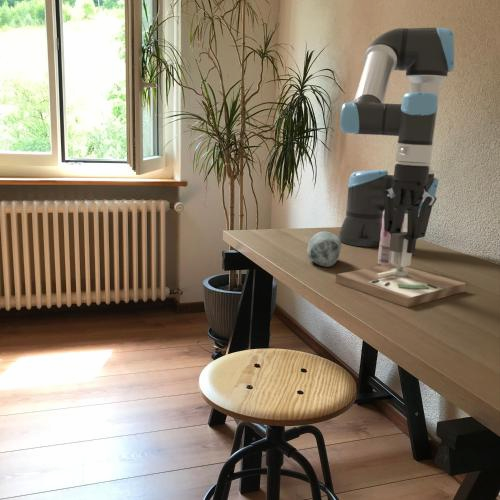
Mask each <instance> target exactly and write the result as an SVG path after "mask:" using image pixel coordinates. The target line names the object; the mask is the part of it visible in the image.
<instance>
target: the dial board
mask: <svg viewBox="0 0 500 500" xmlns="http://www.w3.org/2000/svg"><path fill="white" fill-rule="evenodd" d="M393 268H397V264H396V263H395V264H388V265H383V266H382V265H379V266H373V267H368V268H363V269H357V270H352V271H346V272H342V273H341V272H339V273H337V274H336V276H335V283H336V284H339V285H342V286H345V287H347V288H351V289H354V290H356V291H359V292H363V293H366V294H368V295H370V296H373V297H377V298H379V299H381V300H385V301H388V302H390V303H394V304H395V305H400V306H401V307H404V308H409V307H414V306H417V305H421V304H425V303H429V302H432V301H435V300H439V299H442V298H446V297H450V296H453V295H458V294H460V293H464V292H466V287H467V286H466V285H467V283H466V282H463V281H459V280H456V279H453V278H448V277H445V276H442V275H438V274H435V273H431V272H427V271H423V270H421V269H416V268H413V267H410V266H405V267H403V269H405V270H407V271H408V276H407V277H397V276H393V275H387V276H382V277H377V276H376V274H377V273H382V272H387V271H391V269H393Z"/></svg>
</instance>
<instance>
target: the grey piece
mask: <svg viewBox="0 0 500 500" xmlns="http://www.w3.org/2000/svg"><path fill="white" fill-rule="evenodd" d="M405 237H407V231H403V232H400V233H393V234H391V243H390V251H393V252H399V253H398V261H397V268H393V269H391V271H387V272H382V273H377V274H376V276H377V277H382V276H387V275H393V276H397V277H407V276H408V271H407V270H405V269H403V267H402V266H401V259H402V250H403V242H404V239H406V238H405Z"/></svg>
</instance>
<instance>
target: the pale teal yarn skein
mask: <svg viewBox="0 0 500 500" xmlns="http://www.w3.org/2000/svg"><path fill="white" fill-rule="evenodd" d="M341 249H342V242H341V240H340V239H339V238H338V235H336V234H334V233H333V232H331V231H319V232H317V233H315V234H313V236H312V237H311V238H310V240H309V242H308V244H307V248H306V254H307V256H308V257H309V259H310V260H311V261H312V262H313V263H315V264H317V265H318V266H321V267H324V268H327V267H328V268H329V267H332V266H334V264H335V263H336V262H337V261H338V259H339V258H340V254H341Z"/></svg>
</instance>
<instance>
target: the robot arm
mask: <svg viewBox="0 0 500 500" xmlns="http://www.w3.org/2000/svg"><path fill="white" fill-rule="evenodd" d="M362 65H363V70H362V73H361V76H360V80H359V84H358V86H357V90H356V94H355V96H354V99H353V101H351V102H350V101H348V102H347V101H346V102H344V103H343V104H342V106H341V109H340V119H339V120H340V121H339V125H340V130H341V132H342V133H346V134H353V135H372V136H373V135H374V136H389V137H390V136H391V137H398V139H397V147H396V154H395V161H396V162H397V163H395V164H394V171H393V174H389V172H388V170H387V169H373V170H372V169H371V170H370V169H369V170H359V171H354V172H352V173H351V174H350V176H349V180H348V185H347V188H348V189H347V201H346V211H345V218H344V220H343V222H342V225H341V227H340V230H339V232H338V235H337V237H338V238H339V239H340V240H341V244H345V245H350V246H355V247H356V246H357V247H365V248H367V247H368V248H377V247H378V248H379V244H380V236H381V227H382V218H383V212H384V230H385V231H387V232H389V233H390V234H393V233H400V232H401V229H402V224H403V219H404V220H405V216H404V215H407V222H406V223H407V227H406V228H407V230H406V232H407V237H405V238H406V239H404V242H403V250H402V259H401V266H402V267H405V266H406V267H410V266H411V263H412V255H413V253H415V251H416V244H417V240H418V239H421V238H425V236H426V233H427V229H428V225H429V222H430V221H429V220H430V218H431V214H432V209H433V206H434V204H435V203H436V201H437V197H436V194H437V190H438V189H437V188H438V185H439V179H438V178H437V177H435V171H434V170H433V168H432V167H431V162H432V161H431V160H432V155H433V153H432V152H433V148H434V147H433V145H434V138H435V130H436V125H437V124H436V123H437V115H438V107H439V100H440V91H441V85H442V83H443V82H444V81H445V80H447V79H448V73H451V72H453V71H454V68H455V36H454V31H453V30H452V29H451V28H445V27H438V26H437V27H412V28H411V27H409V28H408V27H405V28H404V27H398V28H393V29H390V30H388V31H386V32H384V33H382V34H381V35H379V36H377V37H376V38H375V39H374V40H373V41H372V42H371V43H370V44H369V45H368V47H367V48H366V50H365V52H364V55H363V59H362ZM394 71H399V72H400V71H406V72H405V78H406V79H407V81H408V82H409V89H408V91H409V92H406V93H404V95H403V97H402V103H385V102H386V101H385V100H386V97H387V96H386V95H387V91H388V88H389V83H390V77H391V74H392V73H393V72H394ZM390 243H391V240H390ZM398 253H399V252H393V251H392V253H391V261H390V263H392V264H395V263H397V261H398Z"/></svg>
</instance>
